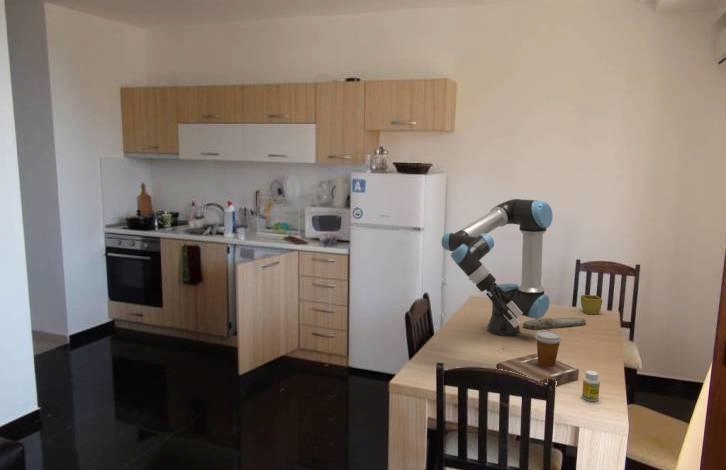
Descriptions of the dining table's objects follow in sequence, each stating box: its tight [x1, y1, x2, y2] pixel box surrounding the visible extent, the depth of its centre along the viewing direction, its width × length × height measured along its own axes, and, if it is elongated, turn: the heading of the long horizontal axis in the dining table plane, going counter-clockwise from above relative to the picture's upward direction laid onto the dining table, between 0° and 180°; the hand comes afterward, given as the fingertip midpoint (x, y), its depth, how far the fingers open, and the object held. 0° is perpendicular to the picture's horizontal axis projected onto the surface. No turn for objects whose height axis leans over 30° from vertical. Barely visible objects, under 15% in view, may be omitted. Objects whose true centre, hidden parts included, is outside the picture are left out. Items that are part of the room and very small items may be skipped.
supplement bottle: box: [581, 370, 601, 402], centre depth 191 cm, size 5×5×10 cm
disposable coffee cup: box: [534, 330, 562, 367], centre depth 211 cm, size 10×10×12 cm
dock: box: [495, 352, 580, 387], centre depth 211 cm, size 22×21×4 cm
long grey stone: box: [522, 316, 587, 330], centre depth 273 cm, size 35×5×10 cm
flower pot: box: [580, 294, 603, 315], centre depth 294 cm, size 9×9×9 cm
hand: (518, 320), depth 212 cm, fingers open, 13 cm apart
